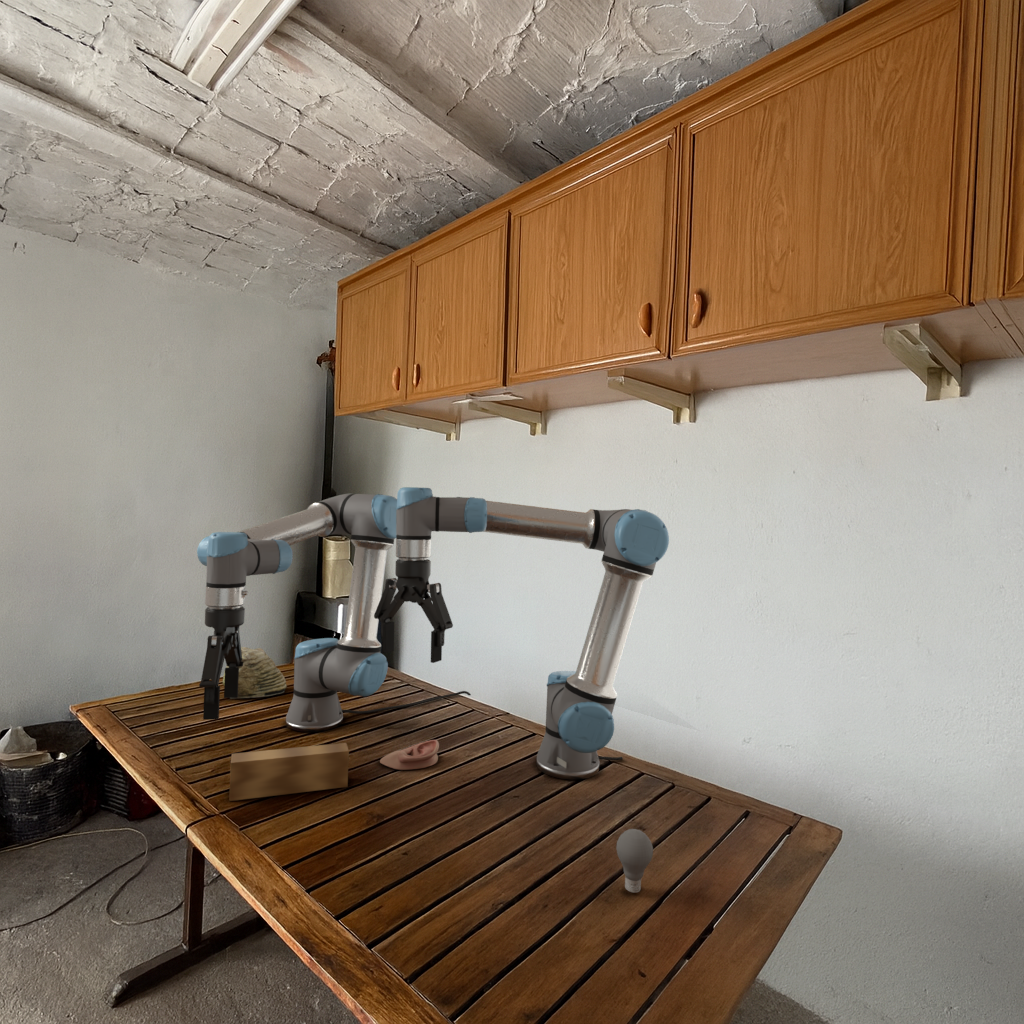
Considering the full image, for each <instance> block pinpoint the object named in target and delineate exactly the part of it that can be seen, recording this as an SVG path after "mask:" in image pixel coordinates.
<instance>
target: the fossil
mask: <svg viewBox="0 0 1024 1024" xmlns="http://www.w3.org/2000/svg"><path fill="white" fill-rule="evenodd" d="M241 652H242V661H241V662H243V667H237V668H239V681H238V697H237V698H236V699H250V698H264V697H271V696H275V695H281V694H284V693H285V691H286V689H287V687H288V686H287V680H286V678H285V676H284V674H283V673H282V672H281V669H279V668H278V667H277V665H276V663H275V662H274V660H273V659H272V658H271V657H270V656H269V655H268V654H267V653H266V652H265V650H264V649H263V648H260V647H258V648H251V647H247V646H246V647H245V646H241ZM225 667H227V664H226V666H225ZM222 676H223V677H222V685H223V686H224V683H225V671H223V675H222Z"/></svg>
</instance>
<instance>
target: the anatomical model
mask: <svg viewBox="0 0 1024 1024" xmlns="http://www.w3.org/2000/svg"><path fill="white" fill-rule="evenodd" d="M439 748H440V743H439V741H438V740H437V739H431V740H430V739H429V740H426V741H423V742H419V743H416V744H414V745H412V746H409V747H406V748H403V749H400V750H399V749H398V750H395V751H392V752H390V753H388V754H386V755H384V756H383V757H382V758H380V760H379V763H380V764H382V765H384V766H385V767H388V768H390V769H394V770H399V771H400V770H401V771H403V770H404V771H405V770H419V769H424V768H428V767H431V766H433V765H435V764H437V763H438V760H439V756H438V754H437V753H438V752H439Z"/></svg>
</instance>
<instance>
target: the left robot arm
mask: <svg viewBox="0 0 1024 1024" xmlns="http://www.w3.org/2000/svg"><path fill="white" fill-rule="evenodd" d="M396 508H397V497H395V496H393V495H388V494H386V495H385V494H379V493H376V494H375V493H354V492H353V493H352V492H351V493H344V494H339V495H335V496H332V497H328V498H326V499H323V500H320V501H316V502H313V503H311V504H310V505H308V506H307V508H306V509H303V510H301V511H298V512H294V513H291V514H288V515H285V516H283V517H282V516H281V517H278V518H276V519H272V520H270V521H267V522H264V523H261V524H257V525H255V526H251V527H248V528H245V529H242V530H239V531H215V532H212V533H211V534H210V535H208V536H205V537H204V538H203V539H201V540H200V542H199V544H198V546H197V550H196V554H197V559H198V561H199V563H200V564H201V565H203V566H205V567H206V585H205V599H204V605H205V606H207V607H206V608H205V609H204V625H205V626H206V627H208V628H212V629H213V634H212V635H208V636H207V641H206V642H207V643H206V652H205V656H204V663H203V669H202V674H201V679H200V682H199V683H198V684H199V688H203V711H202V712H203V714H202V720H203V721H205V720H207V721H208V720H219V719H220V699H221V685H219V683H220V679H221V675H222V671H223V668H224V667H223V666H224V662H225V664H226V665H227V666H225V668H224V672H225V683H224V685H223V687H224V688H223V698H224V699H238V698H237V697H238V681H239V668H237V667H243V662H241V661H242V652H241V647H242V644H241V637H240V636H241V634H240V627H241V626H243V625H244V624H245V615H246V614H245V612H246V611H245V610H246V608H245V607H244V605H245V602H246V596H247V595H248V594H249V592H248V590H246V586H247V585H246V584H247V577H249V576H256V575H257V576H259V575H269V574H270V575H271V574H272V575H275V574H277V573H283V572H285V571H287V570H288V569H290V567H291V565H292V563H293V555H294V554H293V549H292V547H291V546H292V545H295V544H298V543H301V542H303V541H306V540H309V539H312V538H314V537H322V538H324V537H327V536H330V535H350V542H351V543H352V544H353V546H354V547H355V548H354V557H353V564H352V572H351V579H350V580H351V581H350V587H349V595H348V603H347V611H346V618H345V626H344V632H343V633H344V634H343V635H342V637H341V638H340V639H338V638H335V637H324V638H323V637H322V638H313V639H308V640H304V641H302V642H299V643H298V644H297V645H296V647H295V652H294V653H295V654H294V657H293V659H294V660H293V662H294V663H293V665H294V666H293V695H292V696H293V697H292V699H291V702H290V704H289V708H288V711H287V713H286V715H285V726H286V728H287V729H289V730H291V731H294V732H295V731H296V732H301V733H316V732H325V731H329V730H332V729H335V728H337V727H339V726H340V725H342V723H343V722H344V714H343V713H346V714H356V715H364V714H373V713H379V712H382V711H389V710H395V709H401V708H407V707H413V706H416V705H420V704H422V705H423V704H426V703H429V702H434V701H438V700H441V699H445V698H450V697H455V696H459V695H463V694H465V695H467V696H472V694H471V693H470V692H469V691H466V690H461V691H457V692H455V693H448V694H444V695H441V696H436V697H431V698H428V699H424V700H420V701H416V702H411V703H405V704H399V705H393V706H385V707H380V708H375V709H371V710H370V709H369V710H352V709H342V706H341V702H340V699H339V695H338V692H340V693H344V694H348V695H350V696H353V697H357V696H359V697H370V696H372V695H373V694H375V693H376V692H377V691H378V690H380V687H382V685H383V684H384V682H385V679H386V677H387V674H388V669H389V663H388V660H387V657H386V656H385V654H384V653H381V651H382V644H381V642H380V641H379V640H378V628H379V622H380V620H379V619H375V618H374V614H375V612H376V609H377V607H378V604H379V602H380V599H381V597H382V594H383V588H384V580H385V572H386V566H387V565H386V564H387V556H388V551H389V550H390V549H391V548H392V547H394V544H395V540H396Z"/></svg>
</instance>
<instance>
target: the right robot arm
mask: <svg viewBox="0 0 1024 1024" xmlns="http://www.w3.org/2000/svg"><path fill="white" fill-rule="evenodd" d="M396 494H397V496H396V499H397V508H396V538H395V557H396V558H397V559H396V560H395V576H396V577H397V578H396V577H393V578H392V577H391V578H387V579H385V585H384V590H383V591H382V597H381V599H380V602H379V604H378V607H377V609H376V612H375V614H374V618H375V619H379V622H380V623H381V624H380V625H381V627H380V635H381V638H382V654H388V653H392V652H394V651H395V621H393V619H394V617H395V616H396V615H397V613H398V612H399V610H400V608H401V607H402V606H403V605H404V603H405V602H406V603H408V602H410V603H414V604H417V605H418V606H419V607H420V608H421V609H422V611H423V613H424V615H425V616H426V618H427V620H428V621H429V623H430V624H431V627H432V629H433V630H431V631H430V663H432V664H434V663H437V662H441V661H442V656H443V654H442V653H443V647H444V645H445V632H446V630H449V629H452V628H453V627H454V624H453V621H452V618H451V615H450V612H449V609H448V607H447V604H446V602H445V599H444V596H443V592H442V591H443V590H442V584H441V583H440V582H435V583H430V581H429V579H430V576H431V572H432V571H431V569H432V561H431V560H430V559H429V558H430V557H431V556H432V532H436V533H437V532H450V533H469V534H472V533H490V534H499V535H504V536H505V535H506V536H507V535H508V536H515V537H523V538H530V539H532V538H533V539H538V540H540V539H541V540H546V541H547V540H548V541H555V542H562V543H563V542H564V543H571V544H572V543H574V544H581V545H582V546H583V547H584V548H585V549H588V550H595V551H600V552H603V554H602V558H601V562H600V563H601V564H602V566H603V568H604V570H605V571H604V574H603V578H602V582H601V585H600V588H599V592H598V595H597V598H596V602H595V606H594V608H593V612H592V616H591V619H590V622H589V626H588V628H587V632H586V636H585V640H584V643H583V646H582V647H583V648H582V650H581V653H580V657H579V659H578V664H577V667H576V670H558V671H552V672H550V673H549V675H548V677H547V683H546V690H547V691H546V709H545V730H544V731H545V732H544V736H543V737H542V740H541V744H540V746H539V748H538V752H537V754H536V767H537V768H538V770H539V771H540V772H541V773H543V774H545V775H547V776H550V777H553V778H557V779H563V780H585V779H589V778H592V777H594V776H596V775H597V774H598V773H599V772H600V760H603V761H623V759H624V758H623V757H622V756H617V757H615V756H602V755H600V756H599V753H598V751H600V750H602V749H603V748H606V746H607V745H608V744H609V743H610V742H611V740H612V738H613V736H614V733H615V719H614V717H613V713H614V708H615V705H616V702H617V701H616V700H617V698H618V693H617V691H616V690H615V687H614V683H615V680H616V676H617V673H618V670H619V666H620V663H621V660H622V656H623V652H624V649H625V646H626V641H627V640H628V639H627V638H628V635H629V632H630V628H631V625H632V622H633V618H634V614H635V612H636V608H637V605H638V601H639V598H640V594H641V592H642V588H643V584H644V582H645V581H647V580H649V579H651V578H652V577H653V575H654V572H655V568H656V565H657V563H658V562H659V561H660V560H661V559H662V558H663V557H664V556H665V555H666V553H667V551H668V548H669V543H670V535H669V531H668V528H667V526H666V524H665V523H664V521H663V520H662V519H661V518H660V516H658V515H656V514H654V513H653V512H650V511H648V510H645V509H639V508H637V509H629V508H621V509H603V510H602V509H592V508H590V509H589V510H588V511H586V512H583V511H575V510H567V509H557V508H552V507H551V508H550V507H541V506H533V505H525V504H516V503H510V502H501V501H493V500H486V499H485V498H483V497H475V496H469V497H464V496H455V497H452V496H449V497H448V496H447V497H446V496H445V497H444V496H443V497H442V496H441V497H439V496H434V494H433V489H432V488H430V487H417V486H416V487H412V486H411V487H410V486H406V487H405V486H403V487H400V488H399V489H398V491H397V493H396Z"/></svg>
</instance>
